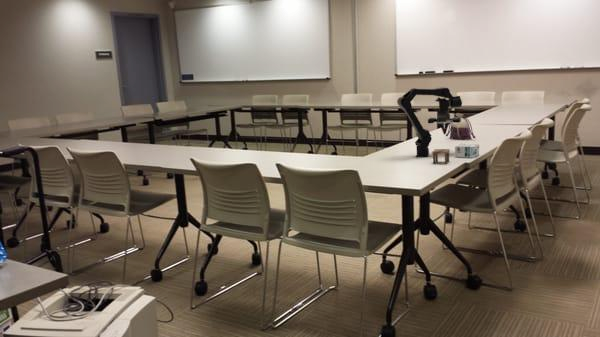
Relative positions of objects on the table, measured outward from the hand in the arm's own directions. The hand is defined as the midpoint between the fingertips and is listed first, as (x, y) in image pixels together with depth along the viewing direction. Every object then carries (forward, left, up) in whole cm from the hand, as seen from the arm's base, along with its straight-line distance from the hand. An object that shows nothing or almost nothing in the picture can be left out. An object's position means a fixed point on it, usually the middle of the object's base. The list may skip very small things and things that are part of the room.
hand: (444, 134), depth 318 cm
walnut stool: (+3, -28, -12) cm, 31 cm away
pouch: (0, +59, -12) cm, 60 cm away
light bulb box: (+9, -7, -9) cm, 14 cm away
